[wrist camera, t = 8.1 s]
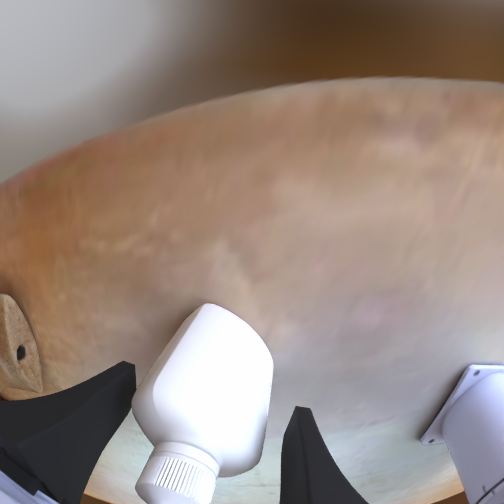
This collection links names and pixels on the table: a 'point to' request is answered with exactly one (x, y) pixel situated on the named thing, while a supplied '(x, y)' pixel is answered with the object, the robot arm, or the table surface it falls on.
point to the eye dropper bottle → (203, 407)
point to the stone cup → (17, 350)
